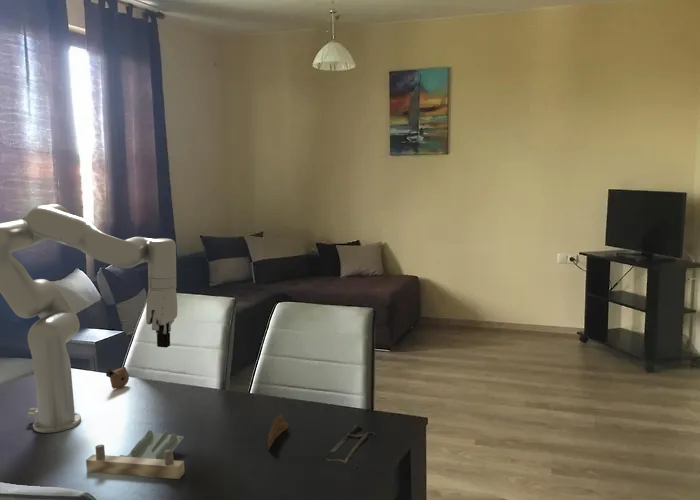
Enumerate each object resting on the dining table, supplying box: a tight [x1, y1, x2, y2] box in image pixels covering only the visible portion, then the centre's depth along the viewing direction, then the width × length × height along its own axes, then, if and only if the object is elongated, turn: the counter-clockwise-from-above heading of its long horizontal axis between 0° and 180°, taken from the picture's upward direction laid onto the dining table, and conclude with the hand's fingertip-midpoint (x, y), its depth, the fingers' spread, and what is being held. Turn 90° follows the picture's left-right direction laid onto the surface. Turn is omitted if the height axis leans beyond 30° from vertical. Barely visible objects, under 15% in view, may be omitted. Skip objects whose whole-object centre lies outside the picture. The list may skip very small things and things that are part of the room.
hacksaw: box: [324, 424, 376, 472], centre depth 166 cm, size 24×10×1 cm, turn 156°
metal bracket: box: [119, 429, 185, 460], centre depth 163 cm, size 14×6×15 cm
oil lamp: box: [105, 366, 130, 390], centre depth 211 cm, size 9×4×8 cm, turn 154°
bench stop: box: [85, 444, 186, 480], centre depth 154 cm, size 24×3×6 cm, turn 80°
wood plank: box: [266, 410, 289, 452], centre depth 172 cm, size 15×2×5 cm, turn 171°
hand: (163, 346), depth 181 cm, fingers closed
